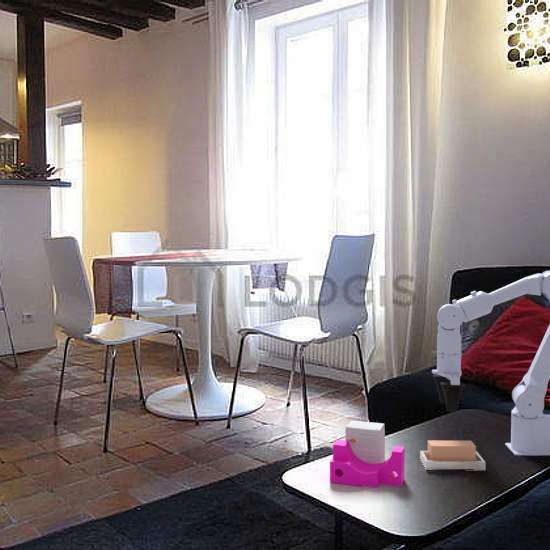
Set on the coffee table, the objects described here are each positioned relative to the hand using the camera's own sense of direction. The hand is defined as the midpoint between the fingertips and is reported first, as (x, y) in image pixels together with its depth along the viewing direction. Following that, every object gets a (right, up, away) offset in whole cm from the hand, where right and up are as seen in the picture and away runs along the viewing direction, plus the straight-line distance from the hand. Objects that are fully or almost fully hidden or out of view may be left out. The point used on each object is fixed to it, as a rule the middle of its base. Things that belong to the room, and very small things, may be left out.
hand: (448, 407), depth 160 cm
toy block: (-23, -12, -20) cm, 33 cm away
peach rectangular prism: (-3, -11, -12) cm, 16 cm away
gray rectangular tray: (-3, -11, -12) cm, 17 cm away
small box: (-23, -12, -14) cm, 29 cm away
